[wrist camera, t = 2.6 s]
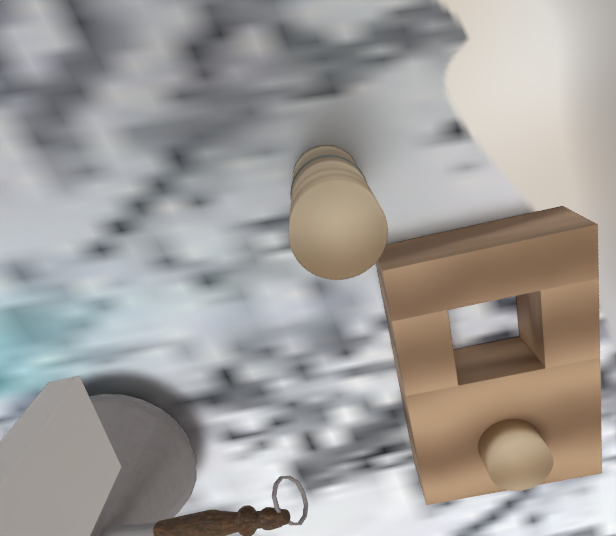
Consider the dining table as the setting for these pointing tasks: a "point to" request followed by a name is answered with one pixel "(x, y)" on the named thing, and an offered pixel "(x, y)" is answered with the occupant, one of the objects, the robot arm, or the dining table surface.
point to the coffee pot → (164, 479)
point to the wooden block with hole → (499, 353)
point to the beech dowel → (334, 216)
